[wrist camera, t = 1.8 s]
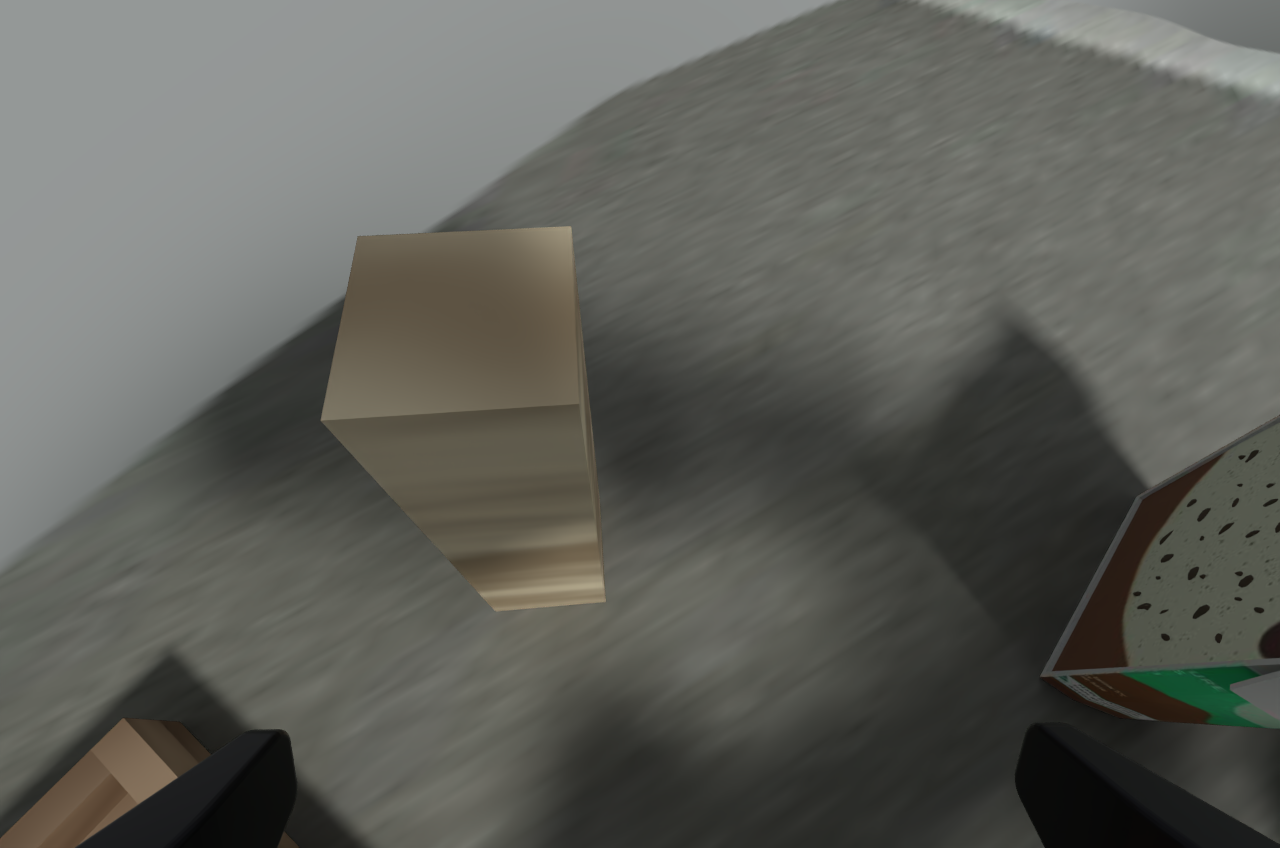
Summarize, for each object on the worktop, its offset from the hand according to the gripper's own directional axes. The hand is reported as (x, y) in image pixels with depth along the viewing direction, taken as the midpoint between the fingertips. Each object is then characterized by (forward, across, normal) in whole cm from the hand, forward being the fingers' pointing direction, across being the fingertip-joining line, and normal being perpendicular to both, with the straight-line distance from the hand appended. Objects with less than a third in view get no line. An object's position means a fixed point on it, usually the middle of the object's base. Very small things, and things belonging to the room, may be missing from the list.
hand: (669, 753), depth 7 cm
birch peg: (+15, +3, +5) cm, 16 cm away
